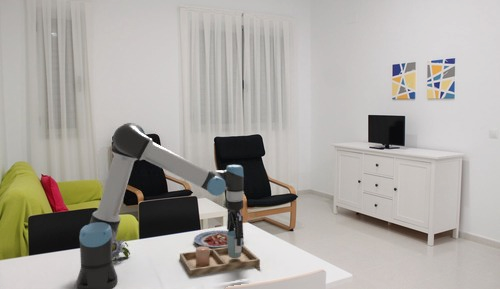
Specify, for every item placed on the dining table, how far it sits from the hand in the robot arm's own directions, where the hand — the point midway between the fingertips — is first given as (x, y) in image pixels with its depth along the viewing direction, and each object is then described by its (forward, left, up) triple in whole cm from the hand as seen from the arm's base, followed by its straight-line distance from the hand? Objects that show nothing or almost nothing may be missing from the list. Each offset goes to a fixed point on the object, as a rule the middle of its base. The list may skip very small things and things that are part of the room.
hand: (234, 249), depth 184 cm
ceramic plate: (+1, +29, -6) cm, 29 cm away
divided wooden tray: (-8, 0, -6) cm, 10 cm away
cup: (0, 0, -3) cm, 3 cm away
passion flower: (-50, +24, -6) cm, 56 cm away
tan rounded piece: (-15, 0, -5) cm, 16 cm away
